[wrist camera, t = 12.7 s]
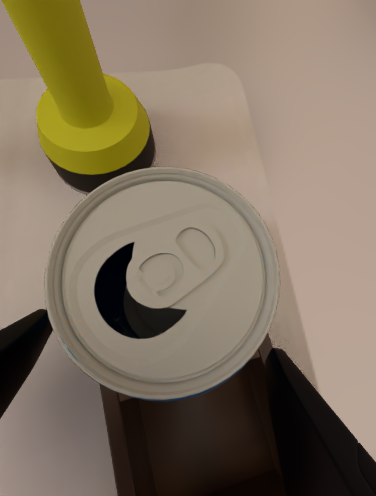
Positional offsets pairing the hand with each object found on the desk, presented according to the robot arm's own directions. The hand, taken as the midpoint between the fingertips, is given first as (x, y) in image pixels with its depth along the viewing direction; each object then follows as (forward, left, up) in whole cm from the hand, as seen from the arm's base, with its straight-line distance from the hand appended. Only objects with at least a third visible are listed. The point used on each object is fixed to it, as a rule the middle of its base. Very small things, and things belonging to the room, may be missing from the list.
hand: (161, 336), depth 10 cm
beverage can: (+2, -1, -8) cm, 8 cm away
